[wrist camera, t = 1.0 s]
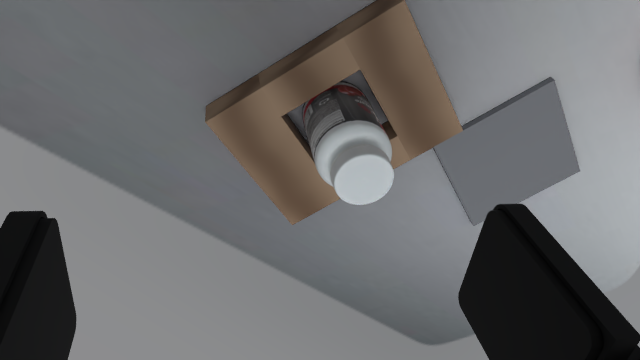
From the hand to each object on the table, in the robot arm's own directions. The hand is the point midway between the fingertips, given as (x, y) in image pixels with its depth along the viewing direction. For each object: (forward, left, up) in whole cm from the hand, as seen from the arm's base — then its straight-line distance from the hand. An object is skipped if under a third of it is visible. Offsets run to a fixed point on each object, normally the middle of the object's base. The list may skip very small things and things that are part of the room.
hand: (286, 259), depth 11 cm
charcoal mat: (-11, +26, -27) cm, 39 cm away
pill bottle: (0, +13, -27) cm, 30 cm away
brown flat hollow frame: (0, +13, -27) cm, 30 cm away
